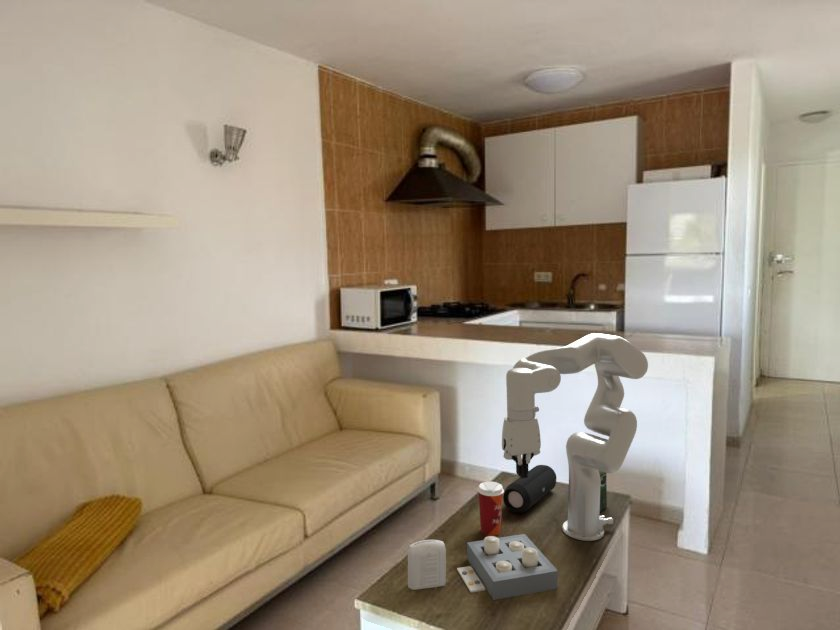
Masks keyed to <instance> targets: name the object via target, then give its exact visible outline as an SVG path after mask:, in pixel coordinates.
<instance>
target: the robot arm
mask: <svg viewBox="0 0 840 630" xmlns="http://www.w3.org/2000/svg"><path fill="white" fill-rule="evenodd" d="M593 365H594V368H595V371H596V375H597V387H596V390H595V392H594V395H593V397H592V399H591V401H590V404H589V406H588V408H587V410H586V412H585V414H584V419H583V422H584V423H583V424H584V426H585V427H586V429H587V430H589V431H592V432H593V433H597V434H600V435H602V436H607V437H608V439H607V438H604V437H601V436H598V435H595V434H592V433H588V432H580V431H578V432H574V433H572V434H571V435H570V436H568V438H567V440H566V445H565V451H566V457H567V463H568V465H567V466H568V492H567V493H568V497H567V498H568V500H567V501H568V502H567V503H568V504H567V520H565V521H564V522H563V523H562V531H563V533H564V534H565V535H567V536H568V537H570V538H572V539H575V540H579V541H585V542H592V541H598V540H600V539H602V538H603V537H604V536H605V528H604V527H605V526H606V525H612V524H614V518H612V517H611V516H610V517H605V515H603V514H602V515H601V514H600V512H601V511H600V486H601V479H600V474H599V471H602V472H605V473H607V474H614V473H617V472H618V471H619V470H620V469H621V467H622V466H623V463H624V461H625V459H626V456H627V454H628V452H629V450H630V447H631V445H632V443H633V441H634V438H635V436H636V433H637V428H638V420H637V417H636V414H635V413H634V412H633V411H632V410H630V409H627V408H623V407H621V405H622V403H623V401H624V397H625V389H624V386H623V383H622V381H621V378H626V379H632V380H639V379H641V378H644V376H645V375H646V373H647V372H648V368H649V361H648V358H647V357H646V355H645V354H644V353H643V352H642V351H641V350H640V349H638V348H637V346H635V345H634V344H632V343H631V342H630V341H628V340H627V339H625V338H623V337H621V336H618V335H612V334H605V333H599V332H598V333H595V332H593V333H590V334H587V335H585V336H583V337H581V338H579V339H577V340H575V341H573V342H571V343H569V344H568V345H565V346H561V347H555V348H551V349H547V350H541V351H537V352H534V353H530V354H529V355H527V356H525V357H522V358H521V359H519V360H518V361H517V362H516V363H515V364H514V365H513V367H512V368H511V369H509V370H508V371H507V372H506V376H505V379H506V383H505V384H506V414H507V416H505V417H504V419H503V422H502V423H503V424H502V431H501V432H502V433H501V449H502V451H504V452H503V455H502V456H503V458H504V459H505V460H507V461H508V460H510V461H513V462H514V463H515V467H516V468H515V471H516V475H517V476H519V478H520V477H521V478H522V479H523V478H527V477H528V471H529V464H530V463H531V460H532V459H533V458H534V457H535V456H537V455H539V454H541V446H542V443H541V442H542V441H541V432H540V431H541V430H540V425H539V421H538V416H537V415H536V414H537V412H539V411H540V408H539V406H536V405H535V404H536V403H535V401H536V400H535V395H536V394H541V393H550V392H553V391H554V390H556V389H557V388H558V387H559V386H560V383H561V377H562V376H561V375H572V374H577V373H580V372H582V371H584V370H586V369H588V368H590V367H591V366H593ZM620 377H621V378H620ZM598 470H599V471H598Z"/></svg>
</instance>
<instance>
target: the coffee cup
mask: <svg viewBox="0 0 840 630" xmlns="http://www.w3.org/2000/svg"><path fill="white" fill-rule="evenodd" d="M504 492H505V489H504V488H503V484H501V483H499V482H496V481H484V482H480V483H479V485H478V488H477V493H478V504H479V506H478V507H479V522H480V532H481V534H482V535H484V536H485V537H488V536H494V537H497V536H498V535H500V533H501V526H502V525H501V522H502V513H503V511H502V510H503V495H504Z"/></svg>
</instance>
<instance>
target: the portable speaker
mask: <svg viewBox="0 0 840 630" xmlns="http://www.w3.org/2000/svg"><path fill="white" fill-rule="evenodd" d="M556 484H557V475H556V471H555V469H553V468H552V467H551V466H549V465H548V464H547V465H546V464H538V465H535V466H534V467H532V468H531V469H530V470H529V469H528V477H527V478H523V479H522V478H521V477H520V476H519V477H518V478H516V480H514V481H512V482H511V483H510V484H509V485H507V486H506V488H505V489H504V493H503V498H502V502H503V503H504V506H506V507H505V508H507V509H508V510H509V511H511V512H512V513H516V514H517V513H518V514H519V513H525V512H527V511H528V510H529V509H530V508H531V507H533V506H534V505H535V504H536V503H538V502H539V501H540V500H542V499H543V497H544V496H546V495H547V494H549V492H551V491H552V490H553V489H555V487H556Z"/></svg>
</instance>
